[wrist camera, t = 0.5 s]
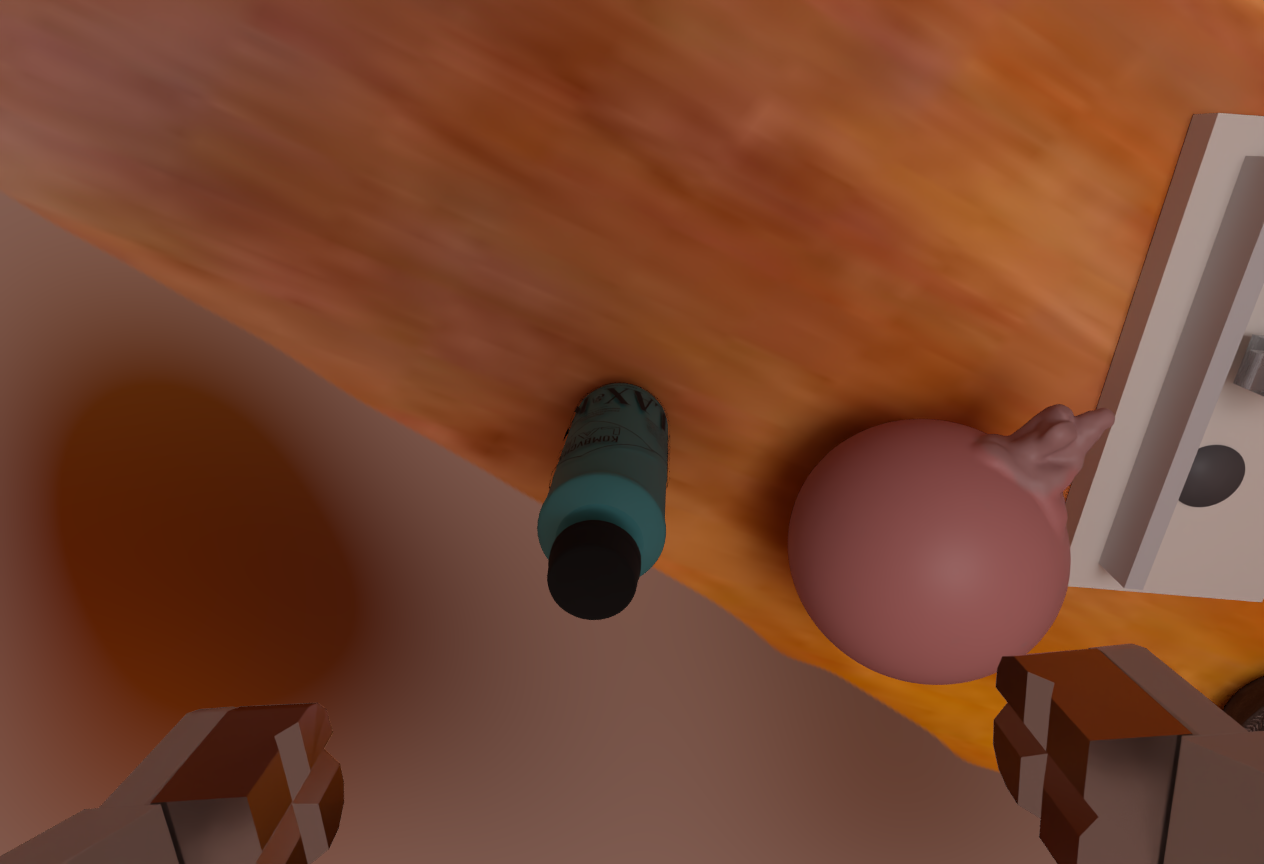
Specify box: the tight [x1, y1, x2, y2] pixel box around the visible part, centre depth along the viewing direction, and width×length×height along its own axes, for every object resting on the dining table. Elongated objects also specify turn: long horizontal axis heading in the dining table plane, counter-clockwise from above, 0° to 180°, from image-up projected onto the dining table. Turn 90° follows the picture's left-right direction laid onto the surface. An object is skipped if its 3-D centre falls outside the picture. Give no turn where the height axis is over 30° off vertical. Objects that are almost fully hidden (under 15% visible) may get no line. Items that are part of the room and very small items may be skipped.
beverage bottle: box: [537, 383, 670, 620], centre depth 40 cm, size 6×7×20 cm
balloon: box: [788, 404, 1115, 685], centre depth 43 cm, size 15×20×15 cm
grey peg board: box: [1065, 113, 1264, 602], centre depth 43 cm, size 30×14×7 cm, turn 176°
